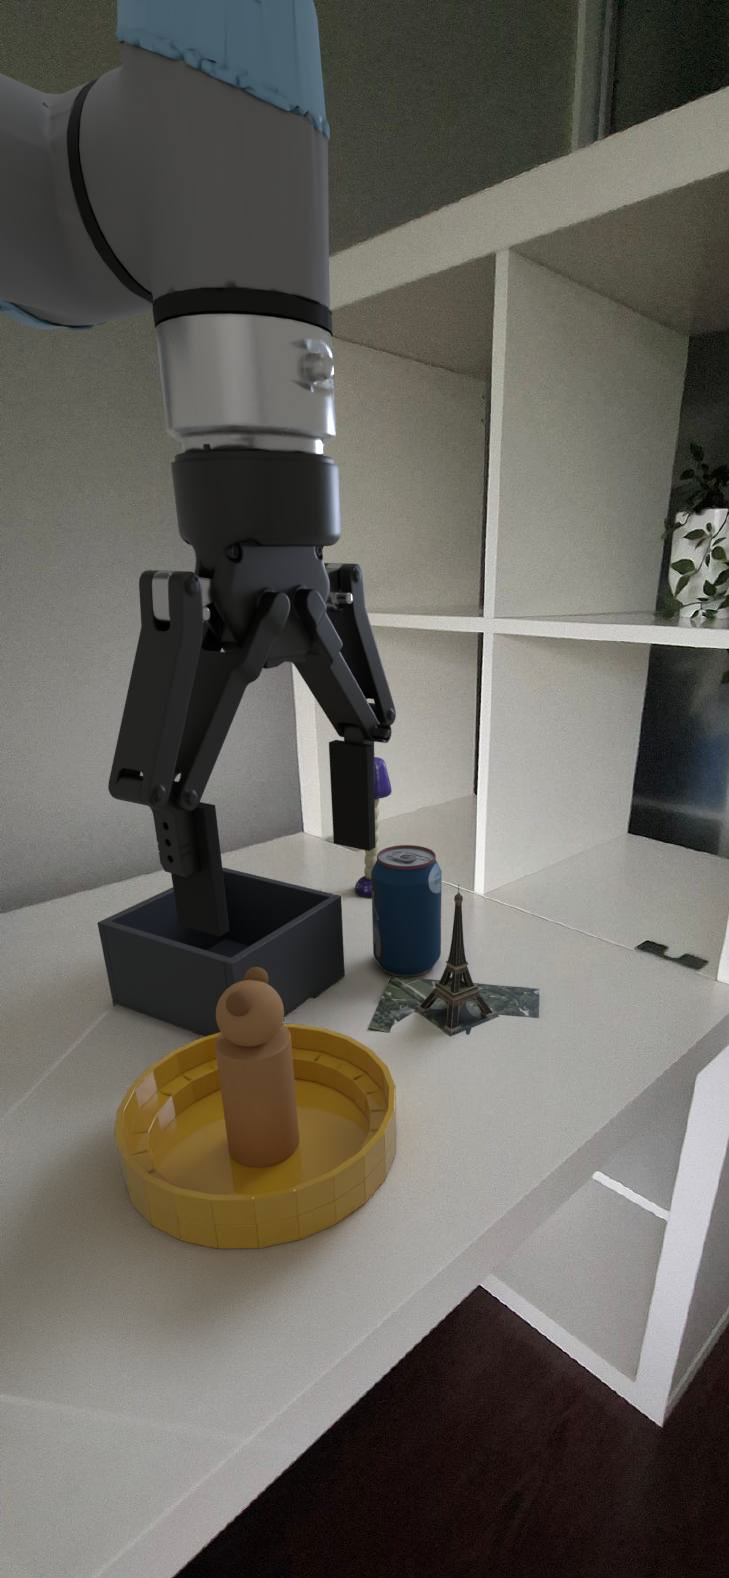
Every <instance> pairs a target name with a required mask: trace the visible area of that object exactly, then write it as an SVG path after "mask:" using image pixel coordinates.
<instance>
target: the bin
mask: <svg viewBox="0 0 729 1578" xmlns="http://www.w3.org/2000/svg"><path fill="white" fill-rule="evenodd" d="M222 869H223V878H224V886H225V895H226V904H227V913H228V921H229V930H230V931H228V932H226V933H225V934H223V935H221V936H215V935H212V934H209V933H205V932H202V931H198V930H195V929H192V928H188V927H185V926H181V925H179V924H178V917H177V910H176V904H175V897H174V890H173V886H172V887H170V888H168V889H166V890H163V891H161V892H159V893H157V894H155V895H153V896H151V897H149V898H147V899H145V900H142V901H140V902H138V903H136V904H134V905H132V906H129V907H128V908H125V909H123V910H121V911H119V912H117V913H114V914H113V915H110V916H108V917H106V918H104V919H101V920H100V921H97V923H96V924H97V928H98V933H99V934H98V935H99V938H100V944H101V949H102V954H103V959H104V964H105V969H106V974H107V981H108V985H109V990H110V996H111V1000H112V1006H113V1007H115V1006H116V1005H118V1006H120V1007H123V1008H126V1009H128V1010H131V1011H134V1012H137V1013H139V1014H141V1015H145V1016H147V1017H151V1018H153V1019H156V1020H158V1021H161V1022H164V1023H167V1024H169V1025H171V1026H175V1027H177V1028H179V1029H183V1030H186V1031H188V1032H191V1033H194V1034H197V1035H199V1036H202V1037H206V1036H209V1035H213V1034H216V1033H219V1032H221V1031H220V1029H219V1027H218V1024H217V1021H216V1007H217V1004H218V1001H219V999H220V997H221V996H222V994H223V993H224V992H225V991H226V990H227V989H228V988H229V987H230V986H232V985H233V984H235V983H237V982H240V981H244V976H245V973H246V972H247V971H248V970H249V969H250V968H253V967H260V968H262V969H264V970H265V971H266V972H267V974H268V983H267V984H268V985H269V986H271V987H272V988H273V989H274V990H275V991H276V992H277V993H278V994H279V996H280V998H281V1000H282V1003H283V1007H284V1018H286V1017H287V1016H289V1015H290V1014H292V1012H294V1011H295V1010H296V1009H298V1008H299V1007H300V1006H301V1005H303V1004H304V1003H306V1002H307V1001H308V1000H310V999H316V998H317V997H319V996H320V995H321V994H323V993H324V992H325V991H326V990H328V989H329V988H330V987H332V986H333V985H334V984H336V983H337V982H339V981H340V980H341V979H343V977H345V976H346V972H345V951H344V950H345V948H344V929H343V928H344V927H343V909H342V908H343V907H342V906H343V905H342V896H341V895H339V894H335V893H331V892H327V891H323V890H319V889H315V888H310V887H306V886H302V885H297V884H293V883H288V882H286V881H282V880H277V879H273V878H269V877H265V876H262V875H257V874H252V873H248V872H244V871H240V870H237V869H232V868H228V867H223V866H222Z"/></svg>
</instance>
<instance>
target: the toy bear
mask: <svg viewBox="0 0 729 1578" xmlns="http://www.w3.org/2000/svg"><path fill="white" fill-rule="evenodd" d="M267 983H268V974H267V972H266V971H265V970H264V969H262V968H260V967H253V968H250V969H249V970H248V971H247V972H246V973H245V976H244V981H240V982H237V983H235V984H233V985H232V986H230V987H229V988H228V989H227V990H226V991H225V992H224V993H223V994H222V996H221V997H220V999H219V1001H218V1004H217V1007H216V1021H217V1024H218V1027H219V1029H220V1031H221V1032H220V1034H219V1035H218V1036H217V1038H216V1041H215V1050H216V1058H217V1065H218V1073H219V1080H220V1088H221V1095H222V1103H223V1110H224V1118H225V1125H226V1133H227V1141H228V1148H229V1153H230V1155H231V1156H232V1158H233V1159H234V1160H235V1161H237V1162H238V1163H240V1164H242V1165H245V1166H249V1167H267V1166H272V1165H275V1164H278V1163H280V1162H282V1161H284V1160H286V1159H287V1158H288V1157H290V1156H291V1155H292V1154H293V1153H294V1151H295V1150H296V1148H297V1146H298V1144H299V1131H298V1118H297V1106H296V1094H295V1082H294V1070H293V1058H292V1046H291V1035H290V1032H289V1030H288V1029H287V1027H286V1026H284V1025H283V1024H284V1018H285V1017H284V1007H283V1003H282V1000H281V998H280V996H279V994H278V993H277V992H276V991H275V990H274V989H273V988H272V987H271V986H269V985H268V984H267Z"/></svg>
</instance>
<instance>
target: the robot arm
mask: <svg viewBox="0 0 729 1578" xmlns="http://www.w3.org/2000/svg"><path fill="white" fill-rule="evenodd" d="M116 11H117V14H116V15H117V24H116V31H114V33H115V37H116V40H117V43H118V44H117V46H119V48H120V49H119V50H120V53H121V60H122V64H121V66H118V67H115V68H113V69H111V70H109V71H107V72H104V74H102V75H100V77H97V78H95V79H92V80H89V81H87V82H85V83H83V84H81V85H78V86H76V87H75V88H72V89H70V90H68V91H65V92H63V93H61V94H60V93H48V92H44V91H41V90H39V89H36V88H35V87H32V86H30V85H27V84H25V83H23V82H21V81H19V80H17V79H14V78H12V77H10V76H8V75H6V74H3V73H1V72H0V311H1V312H2V313H4V314H5V315H7V317H9V318H10V319H12V320H13V321H15V322H17V323H19V324H21V325H24V326H27V327H30V328H33V329H36V330H37V329H39V330H56V329H69V330H71V331H72V332H75V331H85V330H86V331H87V330H91V329H92V328H93V327H94V326H95V325H96V326H103V325H105V324H106V323H107V322H111V321H115V320H120V319H124V318H127V317H132V316H136V315H142V314H145V313H148V312H152V317H153V323H154V329H155V337H156V346H157V355H158V365H159V374H160V383H161V393H162V401H163V411H164V419H165V421H164V422H165V430H166V434H167V435H168V436H169V437H170V438H172V439H173V440H174V441H175V442H179V443H181V452H180V453H177V454H175V455H174V461H172V462H170V467H171V476H172V484H173V485H172V486H173V493H174V501H175V502H174V503H175V510H176V511H175V512H176V519H177V529H178V532H179V536H180V539H181V540H182V541H183V542H184V543H185V544H187V545H190V546H191V547H192V548H193V551H194V556H195V566H194V572H193V571H190V570H186V571H185V570H160V569H159V570H157V569H148V570H144V571H143V572H142V573H141V574H140V576H139V580H138V591H139V608H140V625H141V626H140V631H139V636H138V641H137V646H136V651H135V656H134V660H133V665H132V670H131V674H130V679H129V682H128V683H129V684H128V688H127V693H126V698H125V703H124V706H123V707H124V708H123V712H122V716H121V721H120V726H119V731H118V736H117V741H116V745H115V750H114V755H113V758H112V765H111V769H110V774H109V778H108V787H107V788H108V792H109V794H110V796H111V797H112V798H113V799H115V800H118V801H122V802H128V803H131V804H138V805H142V806H146V807H149V809H150V810H151V812H152V816H153V822H154V831H155V836H156V842H157V850H158V857H159V863H160V865H161V867H162V869H163V870H164V872H165V873H169V874H170V875H171V876H170V877H171V883H172V887H173V890H174V897H175V904H176V910H177V917H178V924H179V925H181V926H185V927H188V928H192V929H195V930H198V931H202V932H205V933H209V934H212V935H215V936H221V935H223V934H225V933H226V932H228V931H230V930H229V921H228V913H227V904H226V895H225V886H224V878H223V869H222V867H223V861H222V853H221V852H222V851H221V845H220V835H219V827H218V826H219V825H218V819H217V809H216V804H212V803H208V802H202V801H201V800H202V797H203V795H204V793H205V790H206V787H207V785H208V782H209V780H210V777H211V775H212V773H213V770H214V767H215V766H216V763H217V761H218V758H219V755H220V753H221V751H222V748H223V746H224V743H225V740H226V738H227V737H228V734H229V731H230V729H231V726H232V724H233V721H234V719H235V717H236V714H237V712H238V708H239V706H240V704H241V702H242V699H243V697H244V694H245V691H246V689H247V687H248V686H249V685H250V684H252V683H254V682H256V681H257V679H258V678H259V677H260V675H261V674H262V671H263V669H266V670H270V669H273V668H278V667H279V666H281V665H282V664H283V663H291V664H293V665H294V667H295V668H296V670H297V671H298V673H299V675H300V676H301V678H302V680H303V681H304V683H305V684H306V687H308V689H309V691H310V692H311V694H312V695H313V697H314V698H315V700H316V701H317V703H318V705H319V706H320V708H321V709H322V711H323V713H324V715H325V716H326V718H327V719H328V721H329V722H330V724H331V725H332V727H333V729H334V730H335V732H336V733H337V735H338V736H339V737H340V738H343V740H341V739H334V740H331V741H329V742H328V756H329V757H328V758H329V775H330V776H329V778H330V779H329V780H330V796H331V816H332V817H331V818H332V837H333V845H338V846H344V847H348V848H353V849H356V850H362V851H365V850H366V851H370V850H372V849H374V848H376V840H375V799H374V785H375V773H374V772H375V767H374V765H375V757H376V756H375V743H382V744H388V743H389V741H390V740H391V737H392V733H393V732H392V725H394V723H395V721H396V717H397V711H396V707H395V704H394V700H393V697H392V693H391V689H390V686H389V683H388V679H387V676H386V673H385V669H384V666H383V665H384V664H383V662H382V659H381V655H380V652H379V648H378V645H377V642H376V637H375V634H374V631H373V627H372V624H371V621H370V618H369V613H368V611H367V607H366V595H365V585H364V573H363V569H362V567H361V565H360V564H359V563H349V562H348V563H347V562H345V563H344V562H325V561H324V554H323V553H324V552H323V549H324V547H330V546H331V547H332V546H334V545H335V544H337V543H338V542H339V540H340V539H341V536H342V520H341V496H340V495H341V494H340V469H339V468H340V467H339V465H338V464H335V459H334V458H333V457H331V456H328V455H325V447H324V446H327V445H330V444H332V443H333V442H334V441H335V439H336V437H337V418H336V417H337V416H336V397H335V376H334V374H335V372H334V371H335V370H334V368H335V367H334V365H335V364H334V354H333V353H334V352H333V337H334V334H333V332H334V331H333V318H332V315H333V311H332V310H331V290H330V288H331V287H330V286H331V285H330V228H329V227H330V226H329V225H330V222H329V221H330V219H329V217H330V216H329V215H330V214H329V213H330V209H329V207H330V205H329V141H330V138H331V133H330V132H331V129H330V124H329V122H328V120H327V115H326V103H325V91H324V80H323V78H324V77H323V68H322V57H321V46H320V32H319V22H318V21H319V19H318V15H317V11H316V6H315V2H314V0H116ZM368 700H373V702H369V701H368ZM141 774H142V775H141ZM179 775H180V776H179ZM178 776H179V778H178V780H177V781H176V778H177V777H178Z"/></svg>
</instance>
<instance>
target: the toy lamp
mask: <svg viewBox="0 0 729 1578" xmlns="http://www.w3.org/2000/svg"><path fill="white" fill-rule="evenodd" d="M374 757H375V765H374V767H375V772H374V773H375V785H374V799H375V840H376V848H374V849H372V850H370V851H366V850H364V853H365V855H364V865H365V867H364V871H363V872H364V875H363V876H361V877H360V878H359V879H358V880H357V881H356V883H355V884H354V885H355V886H354V892H355V894H357V895H358V896H361V897H364V898H372V885H371V871H372V869H373V867H374V865H375V863H376V861H377V854H378V853H379V852H380V851H379V850H380V846H379V840H380V833H379V827H380V820H379V816H380V807H379V804H380V799H384V798H387V797H389V796H390V795H392V792H393V791H392V783H391V780H390V776H389V773H388V769H387V764H386V761H385V760H384V758H381V757H378V756H374Z"/></svg>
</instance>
